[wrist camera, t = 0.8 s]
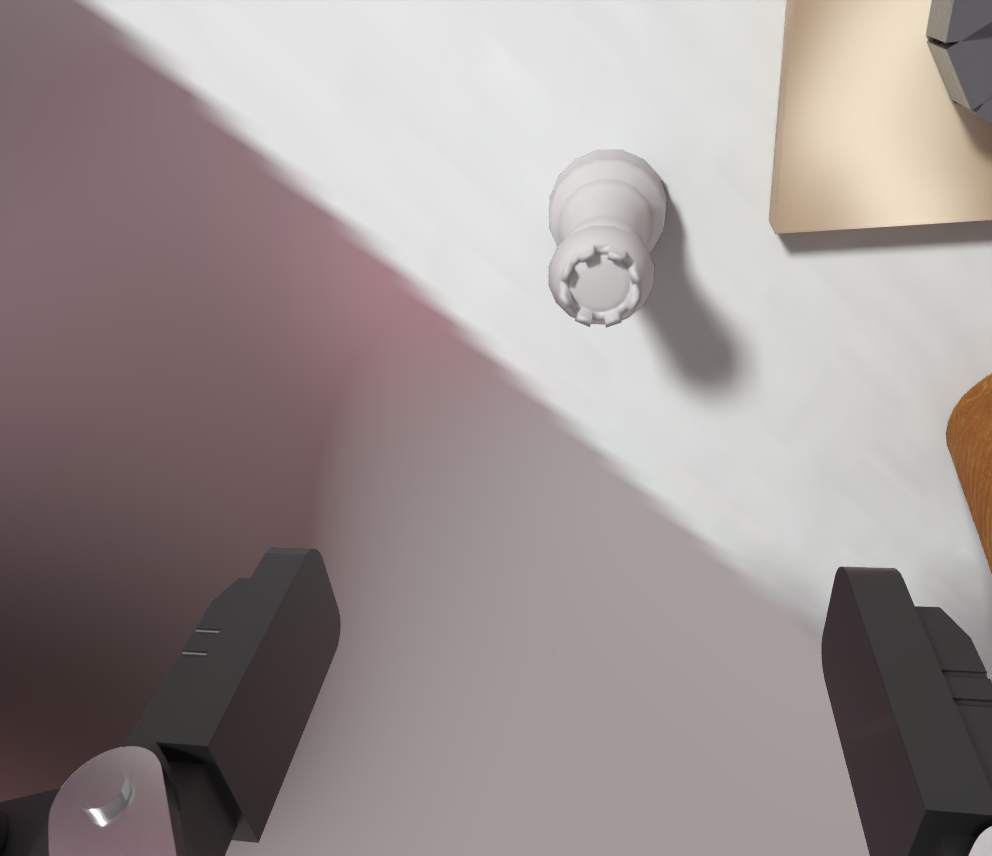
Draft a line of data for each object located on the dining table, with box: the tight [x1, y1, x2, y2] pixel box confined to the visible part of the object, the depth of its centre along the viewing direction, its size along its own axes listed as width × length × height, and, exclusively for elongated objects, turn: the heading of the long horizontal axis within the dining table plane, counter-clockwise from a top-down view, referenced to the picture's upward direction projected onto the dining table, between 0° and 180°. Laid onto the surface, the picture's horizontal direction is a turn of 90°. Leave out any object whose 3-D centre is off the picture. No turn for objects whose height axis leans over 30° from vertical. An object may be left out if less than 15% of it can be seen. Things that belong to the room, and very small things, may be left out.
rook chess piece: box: [549, 150, 667, 327], centre depth 25 cm, size 4×4×8 cm
